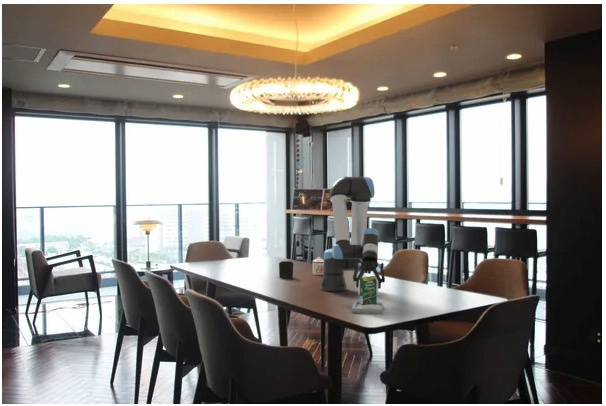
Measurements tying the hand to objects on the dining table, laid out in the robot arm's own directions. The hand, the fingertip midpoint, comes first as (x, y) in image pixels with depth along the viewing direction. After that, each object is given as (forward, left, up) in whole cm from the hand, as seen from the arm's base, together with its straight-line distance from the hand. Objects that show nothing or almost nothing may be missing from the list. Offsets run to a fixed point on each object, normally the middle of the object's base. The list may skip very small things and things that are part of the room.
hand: (368, 293), depth 241 cm
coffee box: (0, +2, -6) cm, 6 cm away
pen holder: (-57, +86, -8) cm, 103 cm away
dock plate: (0, +2, -8) cm, 8 cm away
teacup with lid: (-37, +106, -8) cm, 112 cm away
